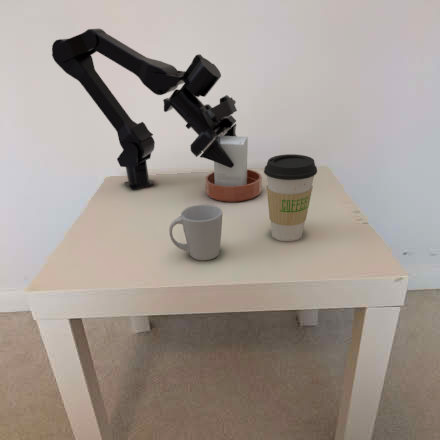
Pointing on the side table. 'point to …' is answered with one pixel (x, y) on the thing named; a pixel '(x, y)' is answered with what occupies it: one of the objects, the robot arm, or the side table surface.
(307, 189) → the coffee cup
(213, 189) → the bowl
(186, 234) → the cup
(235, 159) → the white packaging box
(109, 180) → the side table surface
